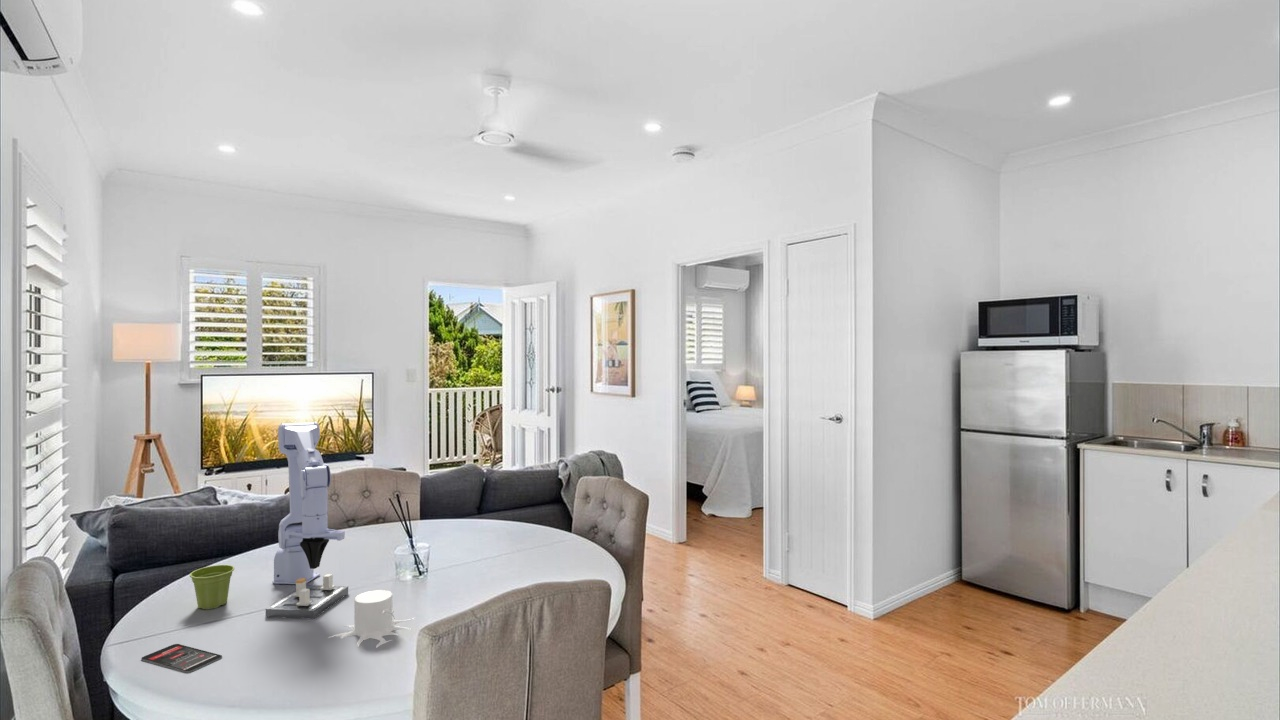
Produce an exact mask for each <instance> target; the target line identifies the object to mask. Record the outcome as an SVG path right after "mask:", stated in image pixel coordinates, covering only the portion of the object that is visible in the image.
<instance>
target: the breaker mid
mask: <svg viewBox="0 0 1280 720" xmlns="http://www.w3.org/2000/svg"><path fill="white" fill-rule="evenodd" d="M306 585H307V583H306V578H300V579H298V580H297V581H296V584H295V591H296V594H294V595H293V597H299V591H301V590H302V589H306Z"/></svg>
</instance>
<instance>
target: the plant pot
mask: <svg viewBox="0 0 1280 720" xmlns="http://www.w3.org/2000/svg"><path fill="white" fill-rule="evenodd" d="M234 570H235V566H233V565H231V564H216V565H211V566H206V567H205V566H204V567H201V568H198V569H195V570H193V571H192V572H190V573H189V577H190V578H191V581H192V583H193V586H194V590H195V591H194V592H195V597H196V604H197V608H198V609H203V610H210V609H216V608H219V607H221V606H225V605H226V604H227V603H228V598H229V591H230V584H231V583H230V582H231V577H232V575H233V572H234Z"/></svg>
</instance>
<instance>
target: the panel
mask: <svg viewBox="0 0 1280 720" xmlns="http://www.w3.org/2000/svg"><path fill="white" fill-rule="evenodd" d="M321 587H323V585H318V584H306V589H310V601H313V602H312V603H311V604H309V605H308V606H299V605H296V604H297V603H298V602H299V597H293V595H294V594H296V590H293V592H291V593H289V594H287V595H286V596H284V597H283V598H281V599H279V600H278V601H276V602H274V603H273V604H271V605H270V606H268V607H266V608H265V618H274V617H286V618H285V619H302V618H314V619H316V618H317V617H318V616H320V615H321V614H323V613H324V612H325V611H326V609H327V608H328V607H329V608H330V606H331V605H332V606H334V605H335V604H336V603H338V602H339V601H341V600H342V599H343V598H344V597H343V596H345V595H346V594H347V595H349V586H347V585H345V586H343V585H335V587H334V588H333V589H331V590H320V588H321ZM347 595H346V596H347ZM346 596H345V597H346ZM342 597H343V598H342ZM341 598H342V599H341ZM338 600H339V601H338ZM337 601H338V602H337ZM335 602H336V603H335ZM334 603H335V604H334ZM333 604H334V605H333ZM332 606H331V607H332ZM329 608H328V609H329ZM328 609H327V610H328ZM323 611H324V612H323ZM322 612H323V613H322ZM319 614H320V615H319ZM315 617H316V618H315Z"/></svg>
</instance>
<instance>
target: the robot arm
mask: <svg viewBox="0 0 1280 720" xmlns="http://www.w3.org/2000/svg"><path fill="white" fill-rule="evenodd" d="M277 429H278V430H277V436H278V437H277V439H278V440H277V441H278V451H279V453H280V454H282V455H285V456H286V460H287V464H288V468H287V469H288V490H289V491H288V492H289V494H288V497H289V513H288V514H287V515H286V516H285V517H284V518H282V519H280V522H279V524H278V535H277V536H278V537H277V538H278V546H279V548H278V550H277V551H276V553H275V554H274V558H273V581H272V582H271V584H277V585H284V584H285V585H296V581H297V580H298V579H300V578H306V584H308V583H309V582H311V581H312V580H314V579H316V578H318V577H320V575H321V572H314V571H315V569H317V568H319V567H320V565H321V560H322V557H323V554H324V552H325V549H326V547H327V545H328V543H329V542H330V540H332V541H333V540H336V541H342V540H344V539H346V537H345V533H346V532H345V530H337V529H331V528H328V518H329V517H328V516H329V515H328V510H329V509H328V505H329V504H328V503H329V501H328V498H329V497H328V495H329V494H328V492H329V490H328V489H329V488H330V487H331V483H332V482H331V481H332V472H331V468H330V465H329V464H327V463H324V460H323V457H322V454H321V451H320V450H318V449H316V447H317V446H318V443H319V441H320V436H321V431H320V429H321V428H320V424H319V423H318V422H317V421H313V422H312V421H311V422H310V421H309V422H292V423H291V422H290V423H285V422H283V423H282V422H281V423H280V424H279V426H278V428H277ZM298 523H300V524H298ZM292 524H294V525H292Z"/></svg>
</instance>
